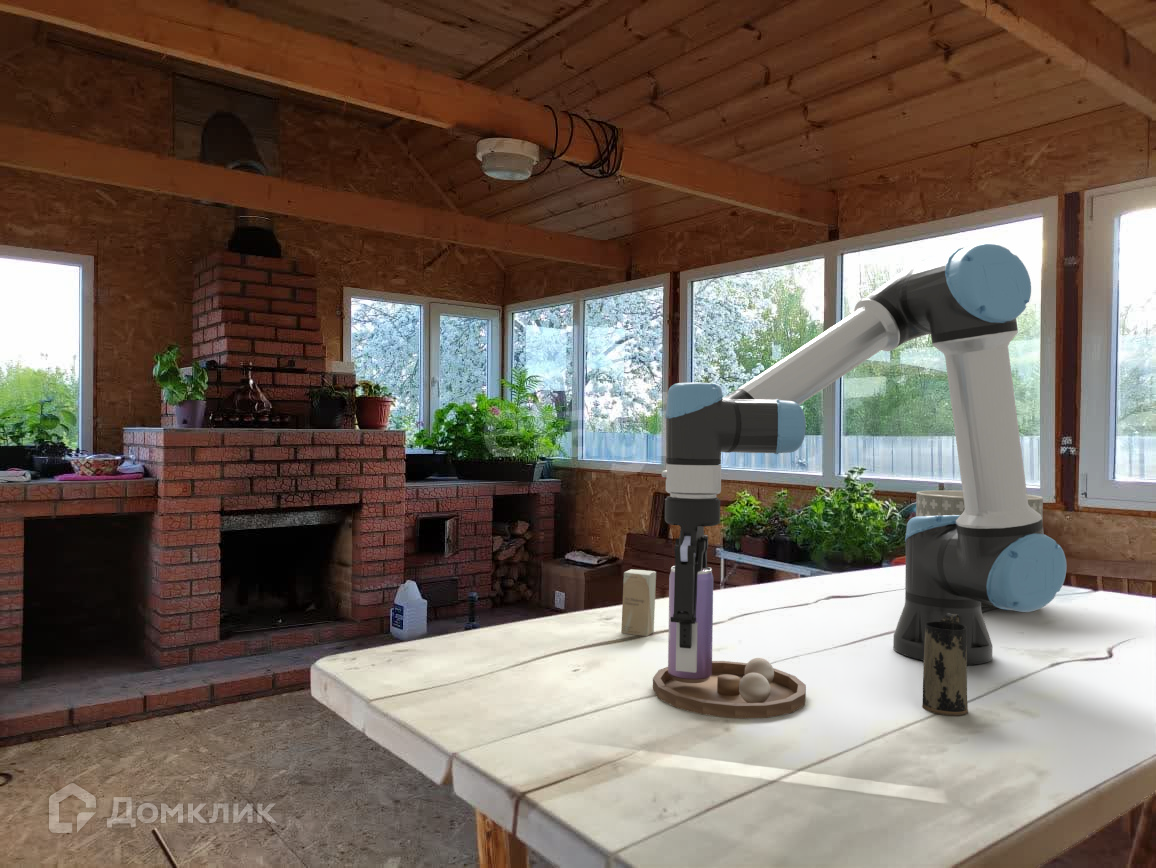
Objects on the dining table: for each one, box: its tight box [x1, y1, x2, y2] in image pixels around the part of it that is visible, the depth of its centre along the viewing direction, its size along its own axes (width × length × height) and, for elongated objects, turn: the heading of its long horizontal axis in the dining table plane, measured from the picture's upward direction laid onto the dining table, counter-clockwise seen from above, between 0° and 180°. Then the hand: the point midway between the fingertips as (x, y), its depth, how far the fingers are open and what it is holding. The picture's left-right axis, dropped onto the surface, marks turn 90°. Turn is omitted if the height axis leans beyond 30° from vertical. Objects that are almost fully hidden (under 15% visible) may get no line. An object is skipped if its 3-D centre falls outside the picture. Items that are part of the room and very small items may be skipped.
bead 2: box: [739, 673, 770, 703], centre depth 106 cm, size 4×4×4 cm
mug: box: [921, 613, 969, 717], centre depth 109 cm, size 8×6×12 cm
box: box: [620, 568, 657, 637], centre depth 148 cm, size 5×4×11 cm
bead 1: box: [745, 657, 775, 684], centre depth 113 cm, size 4×4×4 cm
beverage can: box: [667, 565, 714, 683], centre depth 113 cm, size 6×6×15 cm
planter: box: [915, 489, 1044, 608], centre depth 181 cm, size 25×25×24 cm
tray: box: [652, 660, 807, 719], centre depth 111 cm, size 20×20×3 cm
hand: (690, 663), depth 113 cm, fingers closed on beverage can, 6 cm apart
